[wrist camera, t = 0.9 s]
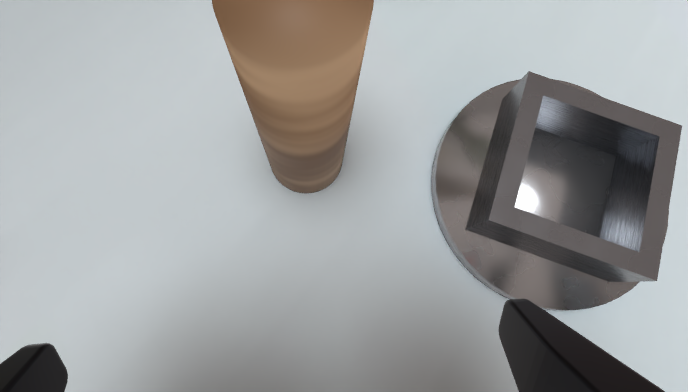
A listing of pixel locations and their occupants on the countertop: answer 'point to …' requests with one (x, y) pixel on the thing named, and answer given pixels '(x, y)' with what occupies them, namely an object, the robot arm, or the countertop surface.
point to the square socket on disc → (555, 192)
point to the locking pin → (298, 79)
